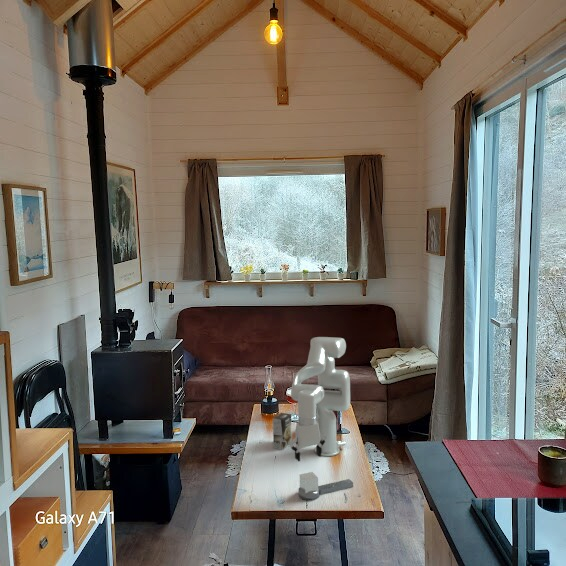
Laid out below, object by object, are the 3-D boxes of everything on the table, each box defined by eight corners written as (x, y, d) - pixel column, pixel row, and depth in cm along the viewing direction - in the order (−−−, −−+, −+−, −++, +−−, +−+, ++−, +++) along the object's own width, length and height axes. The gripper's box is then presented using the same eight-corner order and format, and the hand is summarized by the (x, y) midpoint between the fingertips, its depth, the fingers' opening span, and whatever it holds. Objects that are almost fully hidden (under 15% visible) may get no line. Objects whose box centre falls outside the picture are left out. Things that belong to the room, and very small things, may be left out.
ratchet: (346, 480, 239) (346, 468, 239) (356, 489, 231) (356, 477, 230) (295, 492, 230) (295, 480, 230) (303, 502, 222) (303, 490, 221)
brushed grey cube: (312, 484, 231) (312, 471, 231) (318, 491, 226) (318, 477, 225) (299, 487, 229) (299, 474, 229) (305, 494, 224) (305, 480, 223)
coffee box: (283, 450, 272) (283, 419, 270) (273, 447, 276) (272, 417, 274) (292, 443, 280) (291, 413, 278) (281, 441, 283) (281, 412, 281)
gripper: (322, 413, 230) (322, 450, 233) (285, 420, 224) (286, 458, 227) (329, 419, 223) (330, 457, 226) (291, 426, 217) (293, 465, 220)
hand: (308, 457), depth 226 cm, fingers open, 9 cm apart
